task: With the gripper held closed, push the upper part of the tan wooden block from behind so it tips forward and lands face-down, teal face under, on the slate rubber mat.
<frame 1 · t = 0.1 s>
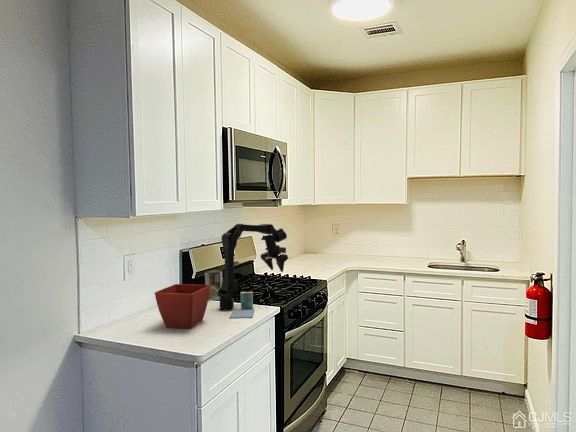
hand: (277, 270, 242), 15 cm above the countertop, tool pointing down, fingers open, 9 cm apart
plant pot: (184, 324, 197), on the countertop
mat: (242, 314, 210), on the countertop
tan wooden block: (247, 309, 219), on the countertop
coffee box: (214, 299, 243), on the countertop
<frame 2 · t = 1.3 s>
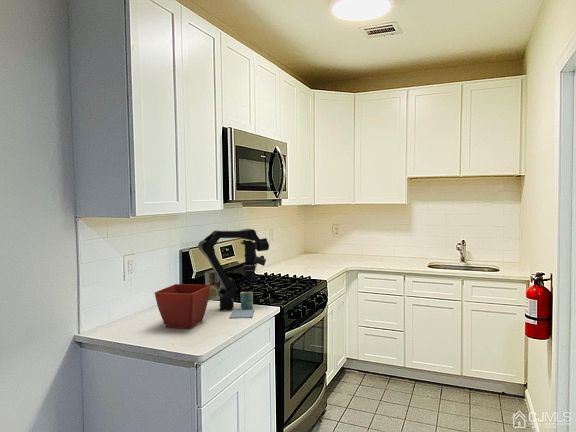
hand: (250, 280, 227), 13 cm above the countertop, tool pointing down, fingers open, 9 cm apart
nothing on the countertop moved.
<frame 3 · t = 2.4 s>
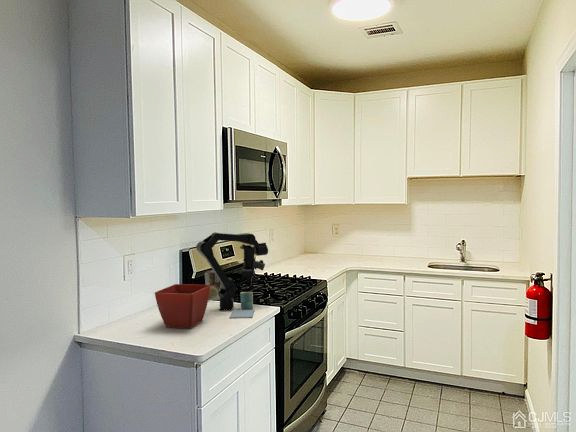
hand: (249, 285, 227), 11 cm above the countertop, tool pointing down, fingers closed
nothing on the countertop moved.
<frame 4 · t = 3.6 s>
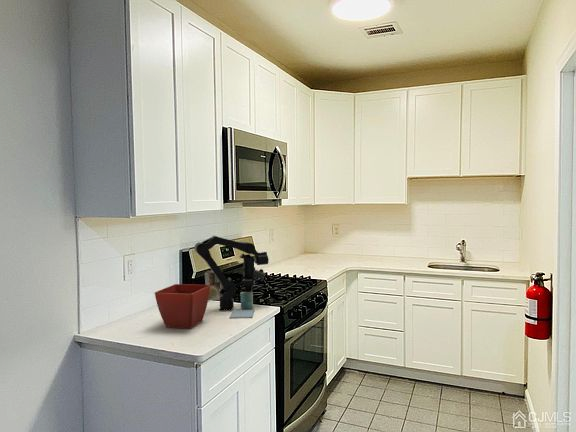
hand: (249, 294, 225), 6 cm above the countertop, tool pointing down, fingers closed
nothing on the countertop moved.
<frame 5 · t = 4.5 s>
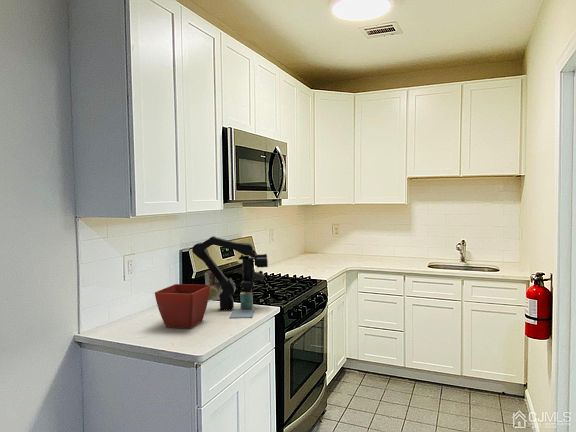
hand: (249, 297, 220), 6 cm above the countertop, tool pointing down, fingers closed
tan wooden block: (247, 309, 219), on the countertop, tilted 10°
everything else where it was.
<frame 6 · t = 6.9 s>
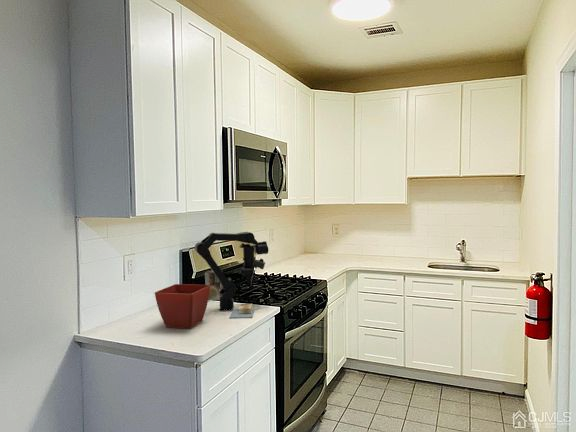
hand: (250, 284, 225), 12 cm above the countertop, tool pointing down, fingers closed
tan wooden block: (246, 306, 217), point 2 cm above the countertop, tilted 90°, touching mat
everything else where it was.
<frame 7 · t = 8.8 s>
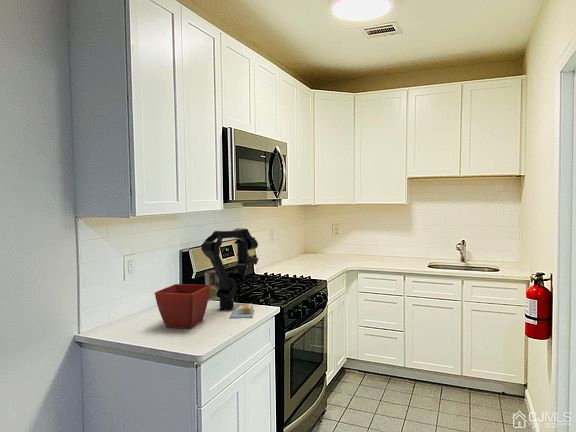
hand: (243, 279, 232), 13 cm above the countertop, tool pointing down, fingers closed
nothing on the countertop moved.
at the end: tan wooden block tilted 90°; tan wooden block touching mat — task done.
